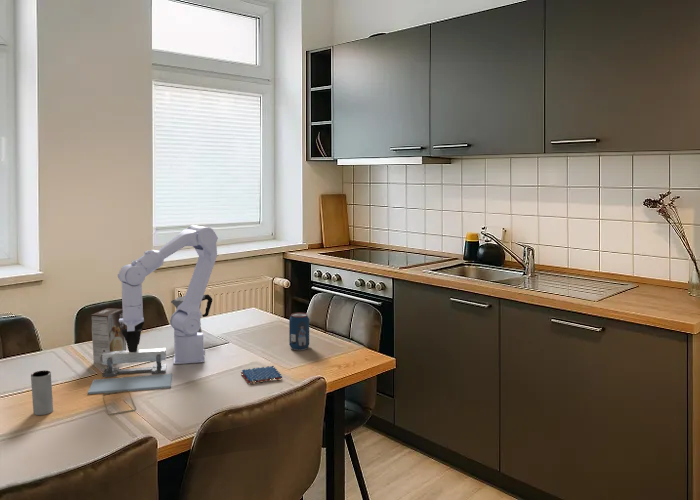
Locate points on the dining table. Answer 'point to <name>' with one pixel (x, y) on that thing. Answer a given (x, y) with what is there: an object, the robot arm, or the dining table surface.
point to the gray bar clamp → (134, 369)
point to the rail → (134, 356)
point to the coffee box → (107, 332)
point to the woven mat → (260, 374)
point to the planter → (42, 392)
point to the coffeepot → (205, 297)
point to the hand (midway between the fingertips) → (134, 348)
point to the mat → (130, 383)
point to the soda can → (299, 331)
